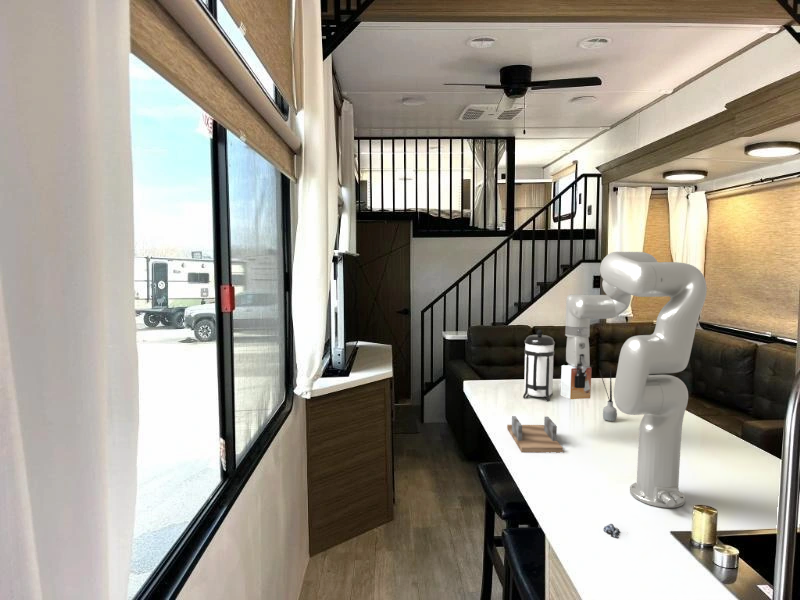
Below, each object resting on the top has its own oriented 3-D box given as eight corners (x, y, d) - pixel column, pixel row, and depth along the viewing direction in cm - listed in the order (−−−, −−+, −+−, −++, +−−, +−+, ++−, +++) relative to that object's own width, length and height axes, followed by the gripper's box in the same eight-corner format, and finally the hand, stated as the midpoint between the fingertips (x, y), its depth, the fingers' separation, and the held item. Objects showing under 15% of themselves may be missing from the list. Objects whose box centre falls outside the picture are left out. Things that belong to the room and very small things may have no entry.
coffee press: (512, 394, 227) (513, 328, 224) (542, 391, 232) (544, 326, 229) (533, 404, 210) (535, 333, 208) (566, 401, 215) (568, 332, 213)
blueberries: (623, 527, 116) (623, 519, 116) (637, 544, 108) (637, 535, 108) (593, 526, 117) (593, 518, 117) (605, 543, 109) (605, 534, 109)
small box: (569, 400, 164) (570, 368, 163) (560, 395, 169) (560, 364, 169) (591, 398, 166) (592, 367, 165) (580, 394, 171) (581, 363, 171)
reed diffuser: (616, 425, 185) (619, 371, 183) (596, 422, 188) (598, 369, 186) (616, 417, 194) (618, 366, 193) (597, 415, 197) (599, 364, 195)
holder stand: (562, 452, 158) (563, 432, 158) (521, 452, 158) (521, 432, 158) (543, 429, 180) (544, 411, 180) (507, 428, 180) (507, 410, 180)
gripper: (598, 335, 157) (597, 391, 159) (579, 328, 175) (578, 379, 176) (574, 335, 157) (573, 391, 159) (558, 328, 175) (556, 379, 176)
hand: (575, 384), depth 167 cm, fingers closed on small box, 6 cm apart
